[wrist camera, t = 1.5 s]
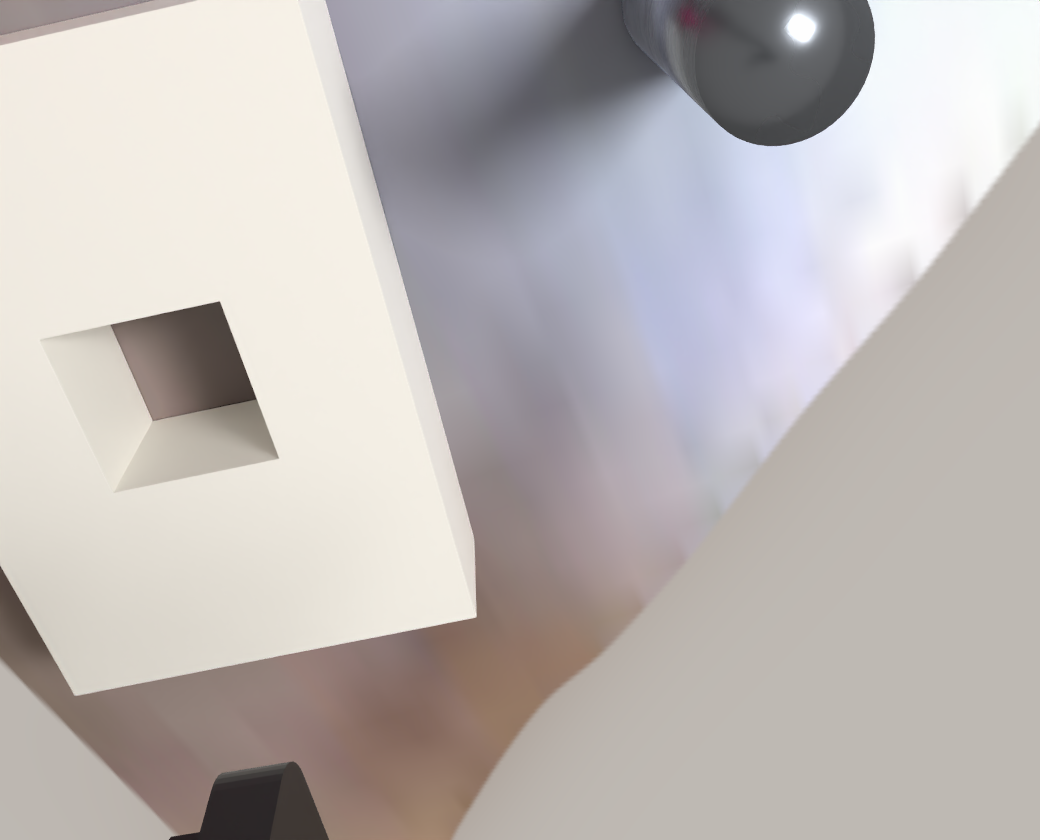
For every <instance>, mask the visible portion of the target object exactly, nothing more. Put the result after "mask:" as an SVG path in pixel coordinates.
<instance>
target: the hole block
mask: <svg viewBox="0 0 1040 840" xmlns="http://www.w3.org/2000/svg"><path fill="white" fill-rule="evenodd" d="M218 301H220V303H221V305H222V308H223V311H224V313H225V316H226V319H227V321H228V324H229V326H230V329H231V332H232V334H233V337H234V340H235V342H236V345H237V348H238V350H239V353H240V356H241V358H242V361H243V364H244V366H245V369H246V372H247V374H248V377H249V379H250V382H251V385H252V387H253V390H254V393H255V395H256V398H257V399H256V400H252V401H247V402H242V403H237V404H232V405H228V406H223V407H218V408H213V409H209V410H204V411H199V412H194V413H189V414H185V415H180V416H175V417H170V418H165V419H161V420H156V421H152V418H151V416H150V414H149V412H148V409H147V407H146V405H145V403H144V400H143V398H142V396H141V393H140V391H139V389H138V387H137V384H136V382H135V380H134V378H133V375H132V373H131V371H130V368H129V366H128V364H127V362H126V359H125V357H124V355H123V353H122V350H121V348H120V346H119V344H118V341H117V339H116V337H115V334H114V332H113V330H112V328H111V324H115V323H120V322H125V321H129V320H134V319H139V318H143V317H148V316H153V315H157V314H162V313H167V312H171V311H176V310H181V309H185V308H190V307H195V306H200V305H204V304H209V303H214V302H218ZM0 566H1V568H2V569H3V571H4V573H5V575H6V576H7V578H8V580H9V582H10V583H11V585H12V587H13V589H14V590H15V592H16V594H17V596H18V597H19V599H20V601H21V603H22V604H23V606H24V608H25V609H26V611H27V613H28V615H29V616H30V618H31V620H32V622H33V623H34V625H35V627H36V629H37V630H38V632H39V634H40V636H41V637H42V639H43V641H44V643H45V644H46V646H47V648H48V649H49V651H50V653H51V655H52V656H53V658H54V660H55V662H56V663H57V665H58V667H59V669H60V670H61V672H62V674H63V676H64V677H65V679H66V681H67V683H68V684H69V686H70V688H71V689H72V691H73V693H74V695H75V696H77V695H82V694H88V693H93V692H98V691H103V690H108V689H113V688H118V687H123V686H128V685H134V684H139V683H144V682H149V681H154V680H159V679H164V678H169V677H174V676H179V675H185V674H190V673H195V672H200V671H205V670H210V669H215V668H220V667H225V666H230V665H236V664H241V663H246V662H251V661H256V660H261V659H266V658H271V657H276V656H281V655H287V654H292V653H297V652H302V651H307V650H312V649H317V648H322V647H327V646H333V645H338V644H343V643H348V642H353V641H358V640H363V639H368V638H373V637H378V636H384V635H389V634H394V633H399V632H404V631H409V630H414V629H419V628H424V627H429V626H435V625H440V624H445V623H450V622H455V621H460V620H465V619H470V618H475V617H476V585H475V550H474V536H473V532H472V529H471V525H470V522H469V518H468V514H467V511H466V507H465V504H464V500H463V496H462V493H461V489H460V485H459V482H458V478H457V475H456V471H455V467H454V464H453V460H452V457H451V453H450V449H449V446H448V442H447V438H446V435H445V431H444V428H443V424H442V420H441V417H440V413H439V410H438V406H437V402H436V399H435V395H434V392H433V388H432V384H431V381H430V377H429V373H428V370H427V366H426V363H425V359H424V355H423V352H422V348H421V345H420V341H419V337H418V334H417V330H416V326H415V323H414V319H413V316H412V312H411V308H410V305H409V301H408V298H407V294H406V290H405V287H404V283H403V280H402V276H401V272H400V269H399V265H398V261H397V258H396V254H395V251H394V247H393V243H392V240H391V236H390V233H389V229H388V225H387V222H386V218H385V214H384V211H383V207H382V204H381V200H380V196H379V193H378V189H377V186H376V182H375V178H374V175H373V171H372V168H371V164H370V160H369V157H368V153H367V149H366V146H365V142H364V139H363V135H362V131H361V128H360V124H359V121H358V117H357V113H356V110H355V106H354V102H353V99H352V95H351V92H350V88H349V84H348V81H347V77H346V74H345V70H344V66H343V63H342V59H341V56H340V52H339V48H338V45H337V41H336V37H335V34H334V30H333V27H332V23H331V19H330V16H329V12H328V9H327V5H326V1H325V0H153V1H149V2H145V3H140V4H136V5H132V6H127V7H123V8H118V9H114V10H110V11H105V12H101V13H97V14H92V15H88V16H84V17H79V18H75V19H70V20H66V21H62V22H57V23H53V24H49V25H44V26H40V27H36V28H31V29H27V30H22V31H18V32H14V33H9V34H5V35H1V36H0Z"/></svg>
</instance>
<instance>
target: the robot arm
mask: <svg viewBox="0 0 1040 840" xmlns="http://www.w3.org/2000/svg"><path fill="white" fill-rule="evenodd" d="M169 840H329V838H328V836H327V833H326V831H325V828H324V826H323V823H322V821H321V818H320V816H319V813H318V811H317V808H316V806H315V803H314V800H313V798H312V795H311V793H310V790H309V788H308V785H307V783H306V780H305V778H304V775H303V773H302V771H301V769H300V767H299V766H298V765H297V764H296V763H295V762H287V763H281V764H275V765H269V766H263V767H257V768H250V769H244V770H238V771H232V772H226V773H222V774H220V775H219V776H218V777H217V779H216V780H215V782H214V784H213V787H212V790H211V794H210V797H209V801H208V805H207V808H206V812H205V816H204V819H203V823H202V827H201V830H200V832H198V833H192V834H186V835H180V836H174V837H171V838H170V839H169Z"/></svg>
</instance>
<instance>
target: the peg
mask: <svg viewBox="0 0 1040 840" xmlns="http://www.w3.org/2000/svg"><path fill="white" fill-rule="evenodd" d="M622 13H623V18H624V22H625V25H626V28H627V30H628V32H629V34H630V36H631V37H632V39H633V40H634V42H635V43H636V44H637V45H638V47H639V48H640V49H641V50H642V51H643V52H644V53H645V54H646V55H648V56H649V57H650V58H651V59H652V60H653V61H654V62H655V63H656V64H657V65H658V66H659V67H660V68H661V69H662V70H663V71H664V72H665V73H666V74H667V75H668V76H669V77H670V78H671V79H672V80H673V81H674V82H675V83H676V84H678V85H679V86H680V87H681V88H682V89H683V90H684V91H685V92H686V93H687V94H688V95H689V96H690V97H691V98H692V99H693V100H694V101H695V102H696V103H697V104H698V105H699V106H700V107H701V108H702V109H703V110H704V111H705V112H706V113H708V114H709V115H710V116H711V117H712V118H713V119H714V120H715V121H716V122H717V123H718V124H719V125H720V126H721V127H722V128H724V129H725V130H726V131H727V132H729V133H730V134H732V135H733V136H735V137H737V138H739V139H741V140H744V141H746V142H749V143H753V144H757V145H764V146H781V145H788V144H793V143H796V142H800V141H803V140H805V139H808V138H810V137H813V136H814V135H816V134H818V133H820V132H822V131H823V130H825V129H826V128H827V127H829V126H830V125H832V124H833V123H834V122H835V121H836V120H837V119H839V118H840V117H841V116H842V115H843V114H844V113H845V111H846V110H847V109H848V108H849V107H850V106H851V104H852V103H853V102H854V100H855V99H856V97H857V96H858V94H859V92H860V91H861V89H862V87H863V85H864V83H865V81H866V78H867V76H868V73H869V70H870V67H871V63H872V59H873V53H874V44H875V31H874V22H873V17H872V13H871V9H870V7H869V4H868V1H867V0H622Z"/></svg>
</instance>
